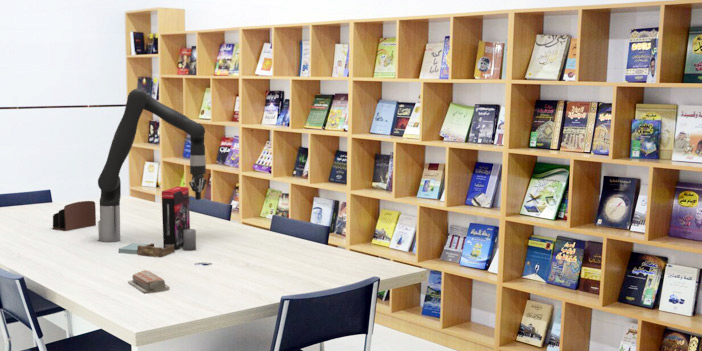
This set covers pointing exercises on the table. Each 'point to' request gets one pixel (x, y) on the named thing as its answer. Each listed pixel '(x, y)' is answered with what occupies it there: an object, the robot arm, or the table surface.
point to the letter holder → (75, 216)
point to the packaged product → (148, 282)
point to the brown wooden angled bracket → (154, 250)
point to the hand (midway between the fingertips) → (198, 199)
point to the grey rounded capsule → (189, 239)
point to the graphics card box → (175, 216)
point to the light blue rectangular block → (131, 248)
